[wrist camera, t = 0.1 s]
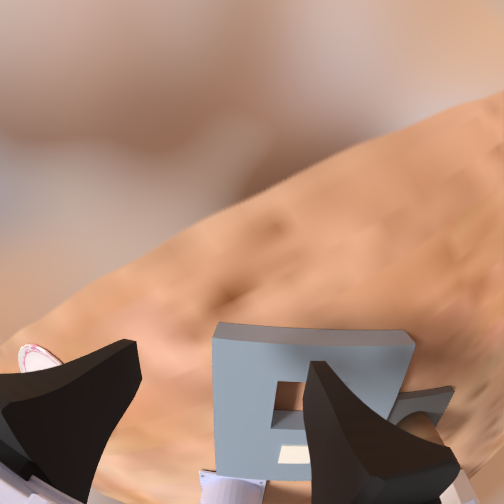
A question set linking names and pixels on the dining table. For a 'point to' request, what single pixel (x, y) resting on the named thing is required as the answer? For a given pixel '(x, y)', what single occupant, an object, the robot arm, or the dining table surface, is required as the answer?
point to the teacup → (35, 358)
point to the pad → (421, 404)
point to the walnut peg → (420, 426)
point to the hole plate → (292, 370)
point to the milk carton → (459, 491)
